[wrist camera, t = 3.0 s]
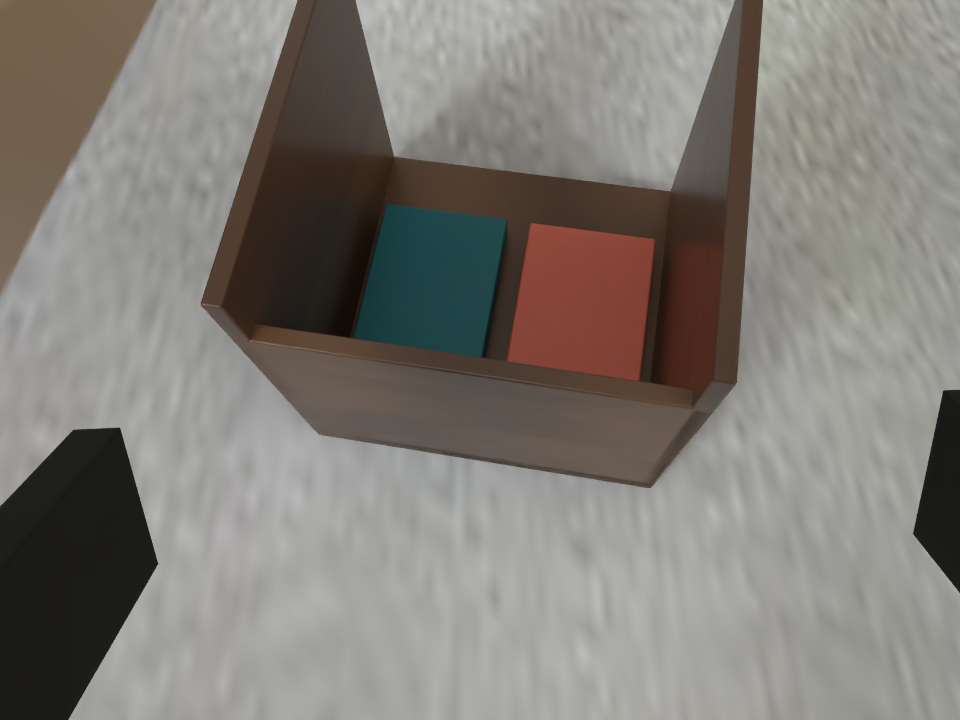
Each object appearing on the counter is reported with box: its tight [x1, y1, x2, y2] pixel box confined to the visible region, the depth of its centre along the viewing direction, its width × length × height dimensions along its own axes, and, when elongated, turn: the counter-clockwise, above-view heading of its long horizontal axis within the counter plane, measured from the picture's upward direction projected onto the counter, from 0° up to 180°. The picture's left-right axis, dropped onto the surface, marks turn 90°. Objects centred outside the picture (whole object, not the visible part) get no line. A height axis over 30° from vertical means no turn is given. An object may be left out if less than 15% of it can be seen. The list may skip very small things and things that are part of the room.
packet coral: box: [506, 223, 656, 381], centre depth 27 cm, size 4×6×1 cm
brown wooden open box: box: [201, 0, 763, 488], centre depth 24 cm, size 12×11×11 cm
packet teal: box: [353, 204, 508, 358], centre depth 28 cm, size 4×6×1 cm
